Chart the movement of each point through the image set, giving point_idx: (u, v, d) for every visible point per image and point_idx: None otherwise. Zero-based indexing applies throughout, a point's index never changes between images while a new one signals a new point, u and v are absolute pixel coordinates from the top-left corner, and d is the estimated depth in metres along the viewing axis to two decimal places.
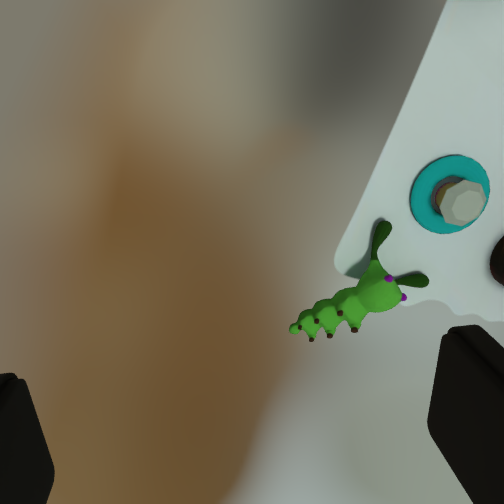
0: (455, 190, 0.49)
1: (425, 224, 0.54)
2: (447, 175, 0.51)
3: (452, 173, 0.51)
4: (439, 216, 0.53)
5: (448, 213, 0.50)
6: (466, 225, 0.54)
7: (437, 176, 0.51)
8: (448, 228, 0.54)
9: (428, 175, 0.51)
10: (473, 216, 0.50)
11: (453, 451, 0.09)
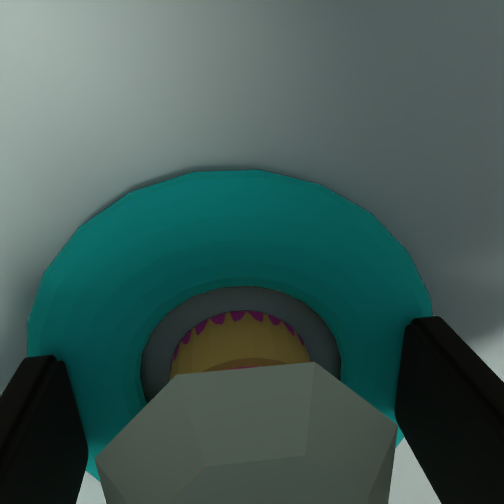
0: (224, 410, 0.06)
1: None
2: (260, 279, 0.09)
3: (288, 279, 0.09)
4: None
5: None
6: None
7: (205, 261, 0.09)
8: None
9: (153, 225, 0.08)
10: None
11: (415, 437, 0.10)
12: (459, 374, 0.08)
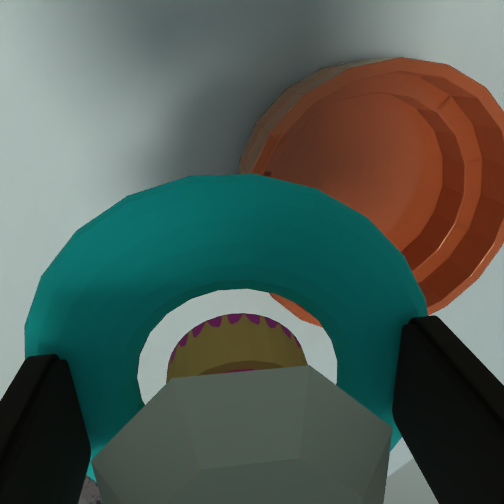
0: (219, 413, 0.07)
1: None
2: (257, 282, 0.09)
3: (284, 281, 0.09)
4: None
5: None
6: None
7: (201, 264, 0.09)
8: None
9: (150, 229, 0.08)
10: None
11: (412, 437, 0.10)
12: (456, 373, 0.08)
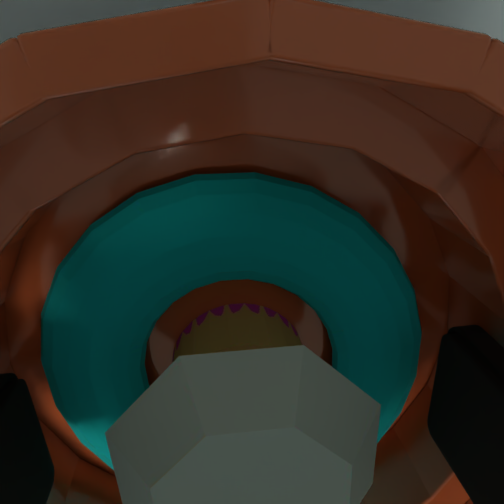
0: (222, 387, 0.07)
1: (87, 439, 0.11)
2: (256, 273, 0.10)
3: (282, 272, 0.10)
4: None
5: (136, 492, 0.08)
6: None
7: (205, 255, 0.09)
8: None
9: (158, 222, 0.09)
10: None
11: (452, 451, 0.09)
12: None
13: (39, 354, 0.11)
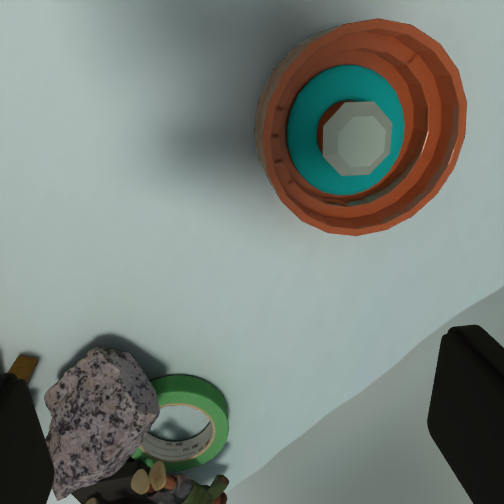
0: (355, 108, 0.31)
1: (296, 157, 0.35)
2: (355, 96, 0.33)
3: (362, 96, 0.33)
4: (319, 156, 0.35)
5: (331, 140, 0.31)
6: (348, 191, 0.36)
7: (342, 89, 0.33)
8: (324, 181, 0.36)
9: (330, 78, 0.32)
10: (362, 164, 0.32)
11: (452, 451, 0.09)
12: None
13: (283, 128, 0.34)
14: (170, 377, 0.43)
